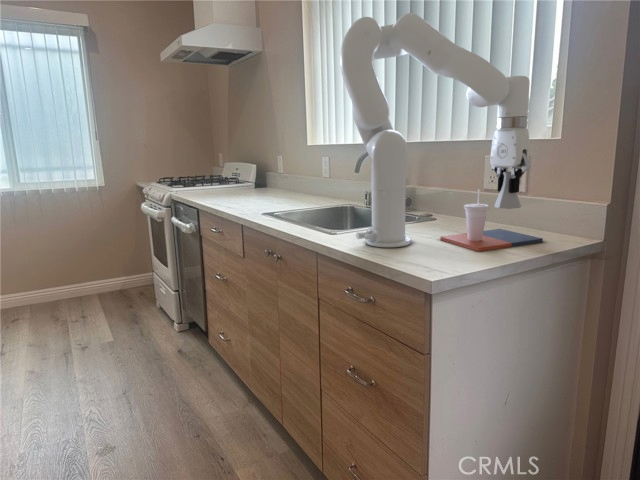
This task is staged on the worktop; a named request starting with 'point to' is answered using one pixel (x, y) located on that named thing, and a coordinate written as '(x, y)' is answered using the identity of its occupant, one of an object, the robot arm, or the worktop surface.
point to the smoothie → (475, 219)
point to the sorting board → (492, 240)
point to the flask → (507, 195)
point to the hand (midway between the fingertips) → (508, 191)
